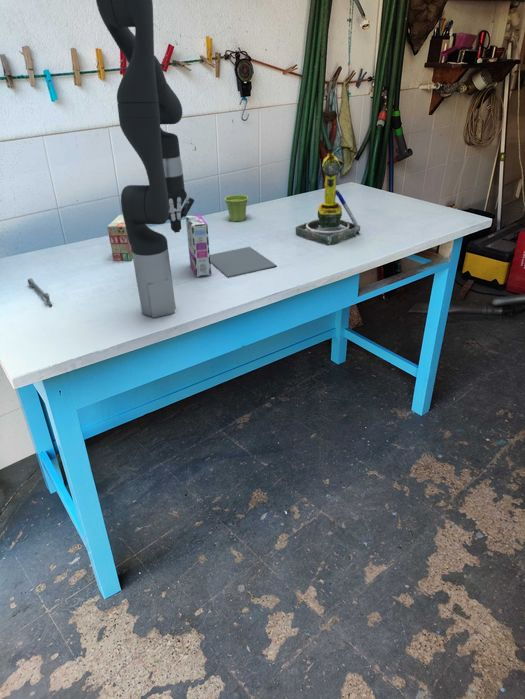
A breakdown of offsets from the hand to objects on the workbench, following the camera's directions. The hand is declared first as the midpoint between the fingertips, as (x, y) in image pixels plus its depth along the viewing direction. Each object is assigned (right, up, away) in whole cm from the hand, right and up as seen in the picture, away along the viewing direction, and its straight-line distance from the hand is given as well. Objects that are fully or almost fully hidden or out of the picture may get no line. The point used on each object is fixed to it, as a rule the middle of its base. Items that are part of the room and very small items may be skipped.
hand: (176, 231), depth 159 cm
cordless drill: (+50, +6, +32) cm, 60 cm away
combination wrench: (-39, -20, -5) cm, 44 cm away
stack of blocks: (-20, -1, +25) cm, 32 cm away
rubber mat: (+19, -7, +12) cm, 23 cm away
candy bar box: (+7, -11, +7) cm, 15 cm away
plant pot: (+16, +16, +52) cm, 57 cm away
